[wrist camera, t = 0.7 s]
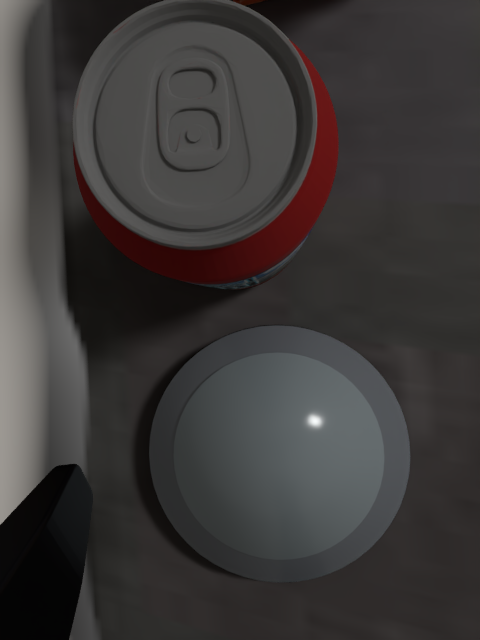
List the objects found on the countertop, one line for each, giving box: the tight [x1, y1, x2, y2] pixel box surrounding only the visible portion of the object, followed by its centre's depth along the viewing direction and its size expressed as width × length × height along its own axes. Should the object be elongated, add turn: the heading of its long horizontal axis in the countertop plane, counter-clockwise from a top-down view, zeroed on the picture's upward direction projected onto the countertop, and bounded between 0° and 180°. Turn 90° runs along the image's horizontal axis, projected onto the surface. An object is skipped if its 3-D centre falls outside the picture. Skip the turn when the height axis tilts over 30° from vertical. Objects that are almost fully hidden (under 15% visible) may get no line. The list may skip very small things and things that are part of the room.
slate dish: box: [149, 325, 410, 582], centre depth 22 cm, size 12×12×1 cm
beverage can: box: [72, 0, 338, 289], centre depth 16 cm, size 7×7×12 cm
